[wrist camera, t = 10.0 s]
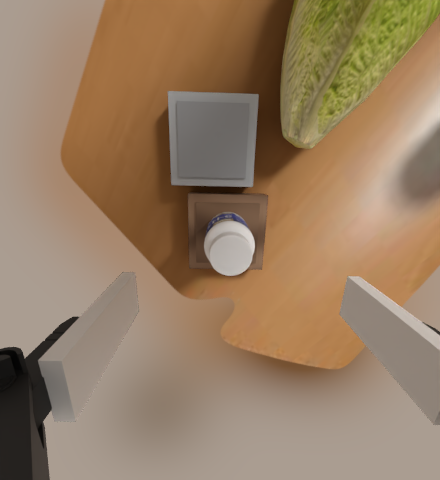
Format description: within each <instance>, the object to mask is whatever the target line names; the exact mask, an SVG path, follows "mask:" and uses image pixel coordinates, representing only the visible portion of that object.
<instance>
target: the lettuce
mask: <svg viewBox="0 0 440 480" xmlns="http://www.w3.org/2000/svg"><path fill="white" fill-rule="evenodd" d="M439 14H440V0H294V4H293V8H292V12H291V16H290V20H289V24H288V29H287V35H286V41H285V48H284V54H283V60H282V72H281V84H280V113H281V126H282V133H283V137H284V138H285V139H286V140H287V141H289V142H290V143H291V144H292V145H294V146H295V147H298V148H306V149H312V148H313V147H314V146H315V145H316V144H317V143H318V142H319V141H321V140H322V139H323V138H324V137H325V136H326V135H327V134H328V133H329V132H330V131H331V130H332V129H333V128H335V127H336V126H337V125H338V124H339V123H340V122H341V121H342V120H343V119H345V118H346V117H347V116H348V115H349V114H350V113H351V112H352V111H354V110H355V109H356V108H357V107H358V106H359V105H360V104H361V103H363V102H364V101H365V100H366V99H367V98H368V97H369V95H370V94H371V93H372V92H373V91H374V90H375V88H376V87H377V86H378V85H379V84H380V83H381V81H382V80H383V79H384V78H385V77H386V76H387V74H388V73H389V72H390V71H391V70H392V69H393V68H394V67H395V66H396V64H397V63H398V62H399V61H400V60H401V59H402V58H403V57H404V56H405V55H406V54H407V52H408V51H409V50H410V49H411V48H412V47H413V46H414V45H415V44H416V43H417V41H418V40H419V39H420V38H421V37H422V35H423V34H424V33H425V32H426V31H427V29H428V28H429V27H430V26H431V24H432V23H433V22H434V21H435V19H436V18H437V16H438V15H439Z"/></svg>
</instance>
